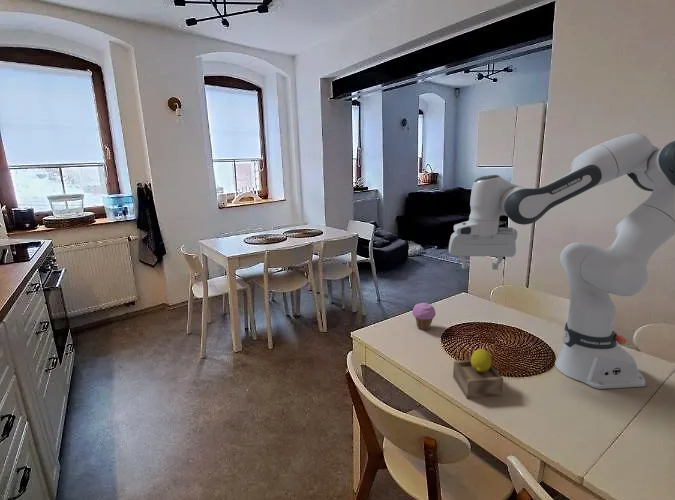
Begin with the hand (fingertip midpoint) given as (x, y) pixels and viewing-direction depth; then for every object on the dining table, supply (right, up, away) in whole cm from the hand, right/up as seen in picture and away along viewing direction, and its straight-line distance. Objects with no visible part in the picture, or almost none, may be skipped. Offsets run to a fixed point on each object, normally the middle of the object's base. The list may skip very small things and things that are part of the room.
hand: (479, 268), depth 117 cm
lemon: (-7, -28, -16) cm, 33 cm away
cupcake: (-13, -24, +23) cm, 36 cm away
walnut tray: (-6, -34, -12) cm, 37 cm away
